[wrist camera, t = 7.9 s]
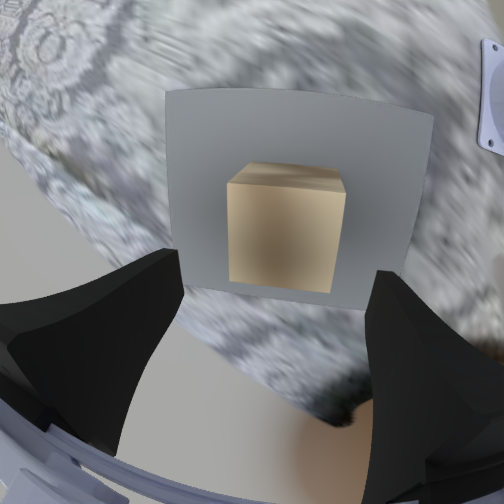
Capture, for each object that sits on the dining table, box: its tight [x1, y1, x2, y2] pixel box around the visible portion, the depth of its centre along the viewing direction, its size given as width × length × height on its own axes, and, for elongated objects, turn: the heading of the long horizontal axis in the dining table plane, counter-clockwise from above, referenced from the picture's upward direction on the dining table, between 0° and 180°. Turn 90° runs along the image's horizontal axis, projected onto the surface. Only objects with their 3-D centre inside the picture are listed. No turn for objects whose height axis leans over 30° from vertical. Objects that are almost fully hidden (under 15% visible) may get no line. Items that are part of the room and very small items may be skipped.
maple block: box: [227, 161, 346, 293], centre depth 15 cm, size 5×5×5 cm
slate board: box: [165, 88, 434, 310], centre depth 18 cm, size 16×14×1 cm
